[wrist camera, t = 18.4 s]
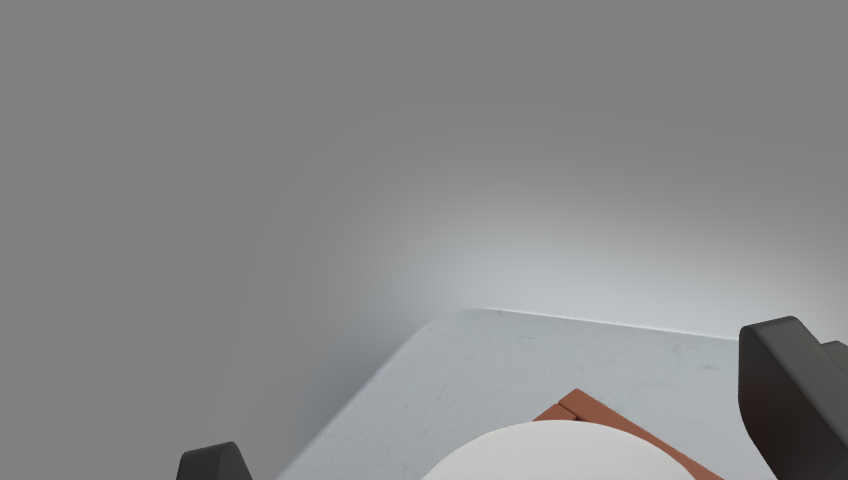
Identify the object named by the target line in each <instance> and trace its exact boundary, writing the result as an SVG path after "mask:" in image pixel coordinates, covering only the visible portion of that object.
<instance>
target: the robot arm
mask: <svg viewBox="0 0 848 480" xmlns="http://www.w3.org/2000/svg"><path fill="white" fill-rule="evenodd" d="M738 402H739V408H740V413H741V417H742V420H743V423H744V425H745V428H746V430H747V432H748V434H749V436H750V438H751V440H752V441H753V443H754V444H755V446H756V447H757V449H758V450H759V452H760V453H761V455H762V456H763V458H764V459H765V461H766V463H767V464H768V466H769V467H770V469H771V470H772V472H773V473H774V475H775V476H776V478H777V479H778V480H848V346H847V345H845V344H843V343H841V342H839V341H833V342H828V343H824V344H820V343H819V341H818V340H817V339H816V338H815V337H814V336H813V335H812V334H811V333H810V332H809V330H808V329H807V328H806V327H805V326H804V325H803V324H802V322H800V321H799V320H798V319H797V318H796V317H793V316H787V317H783V318H778V319H774V320H769V321H765V322H761V323H756V324H752V325H748V326H744V327H742V329H741V330H740V334H739V377H738ZM176 480H252V477H251V475H250V473H249V471H248V469H247V466H246V464H245V462H244V460H243V457H242V455H241V453H240V451H239V449H238V447H237V445H236V444H235V443H234V442H227V443H222V444H218V445H214V446H209V447H205V448H200V449H196V450H192V451H187V452H185V453H184V454H183V455H182V457H181V460H180V464H179V469H178V473H177V478H176Z"/></svg>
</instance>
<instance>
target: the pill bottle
mask: <svg viewBox="0 0 848 480" xmlns="http://www.w3.org/2000/svg"><path fill="white" fill-rule="evenodd" d="M422 480H696V479H695V478H694V477H693V476H692V475H691V474H690V473H689V472H688V471H687V470H686V469H685V467H683V466H682V465H681V464H680V463H678V462H677V461H676V460H675V459H673V458H672V457H671V456H670V455H668V454H667V453H665V452H664V451H662V450H661V449H660V448H658V447H656V446H654V445H652V444H651V443H649V442H647V441H645V440H643V439H641V438H639V437H636V436H634V435H632V434H630V433H627V432H624V431H621V430H618V429H615V428H612V427H608V426H604V425H600V424H595V423H589V422H581V421H570V420H545V421H534V422H527V423H522V424H517V425H512V426H508V427H504V428H501V429H498V430H495V431H492V432H489V433H487V434H484V435H482V436H480V437H478V438H476V439H474V440H472V441H470V442H468V443H467V444H465V445H463V446H461V447H460V448H458V449H457V450H455V451H453V452H452V453H450V454H449V455H448V456H446V457H445V458H444V459H443V460H442V461H440V462H439V463H438V464H437V465H436V466H435V467H433V468H432V469H431V470H430V471H429V472H428V473H427V474H426V475H425V476H424V477H423V478H422Z"/></svg>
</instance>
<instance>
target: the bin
mask: <svg viewBox="0 0 848 480" xmlns="http://www.w3.org/2000/svg"><path fill="white" fill-rule="evenodd" d="M545 420H570V421H581V422H589V423H595V424H600V425H604V426H608V427H612V428H615V429H618V430H621V431H624V432H627V433H630V434H632V435H634V436H636V437H639V438H641V439H643V440H645V441H647V442H649V443H651V444H652V445H654V446H656V447H658V448H660V449H661V450H662V451H664V452H665V453H667V454H668V455H670V456H671V457H672V458H673V459H675V460H676V461H677V462H678V463H680V464H681V465H682V466H683V467H685V469H686V470H687V471H688V472H689V473H690V474H691V475H692V476H693V477H694V478H695V479H696V480H724V479H722V478H721V477H719V476H717V475H716V474H714V473H713V472H711V471H709V470H708V469H706V468H705V467H703V466H701V465H700V464H698V463H696V462H695V461H693V460H692V459H690V458H688V457H687V456H685V455H684V454H682V453H680V452H679V451H677V450H676V449H674V448H672V447H671V446H669V445H668V444H666V443H664V442H663V441H661V440H660V439H658V438H656V437H655V436H653V435H652V434H650V433H648V432H647V431H645V430H644V429H642V428H640V427H639V426H637V425H636V424H634V423H632V422H631V421H629V420H628V419H626V418H624V417H623V416H621V415H619V414H618V413H616V412H615V411H613V410H611V409H610V408H608V407H607V406H605V405H603V404H602V403H600V402H599V401H597V400H595V399H594V398H592V397H591V396H589V395H587V394H586V393H584V392H583V391H581V390H579V389H575V390H573V391H572V392H571V393H569V394H568V395H567V396H565V397H564V398H563V399H561V400H560V401H559V402H558V404H554V405H553V406H552V407H550V408H549V409H548V410H546V411H545V412H544V413H542V414H541V415H540V416H538V417H537V418H536V419H534V420H533V421H532V422H534V421H545Z"/></svg>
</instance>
